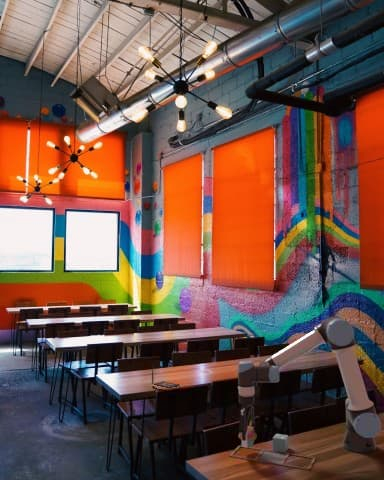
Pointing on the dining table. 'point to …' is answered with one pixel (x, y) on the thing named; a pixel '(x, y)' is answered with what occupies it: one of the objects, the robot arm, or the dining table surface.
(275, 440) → the grey cube
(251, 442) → the cupcake
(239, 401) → the robot arm
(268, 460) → the board
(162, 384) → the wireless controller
